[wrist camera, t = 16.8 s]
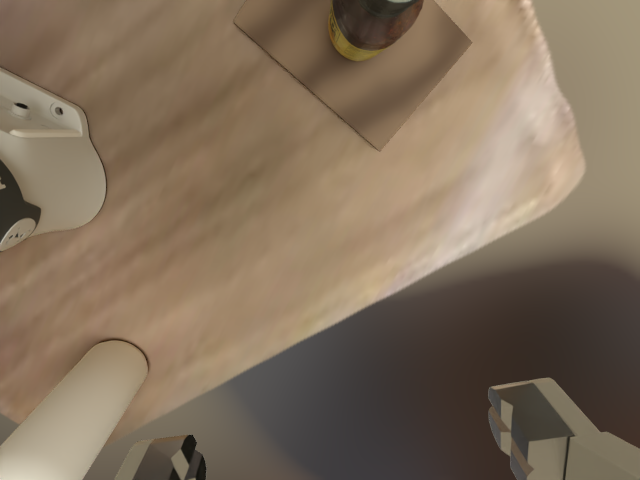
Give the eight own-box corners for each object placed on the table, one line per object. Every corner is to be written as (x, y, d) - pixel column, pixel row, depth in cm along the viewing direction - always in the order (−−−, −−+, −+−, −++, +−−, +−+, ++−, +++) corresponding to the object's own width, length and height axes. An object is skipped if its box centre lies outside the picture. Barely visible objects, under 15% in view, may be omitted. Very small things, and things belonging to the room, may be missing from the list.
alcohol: (102, 387, 52) (-141, 708, 24) (80, 341, 49) (-230, 649, 21) (158, 380, 52) (-24, 698, 24) (139, 333, 49) (-96, 637, 21)
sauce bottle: (344, -22, 32) (384, -193, 14) (400, 11, 33) (507, -108, 15) (315, 48, 35) (317, -20, 16) (369, 77, 36) (429, 44, 17)
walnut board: (236, 24, 35) (232, 21, 34) (321, -112, 31) (321, -122, 30) (377, 149, 40) (379, 151, 38) (466, 45, 36) (472, 42, 35)
